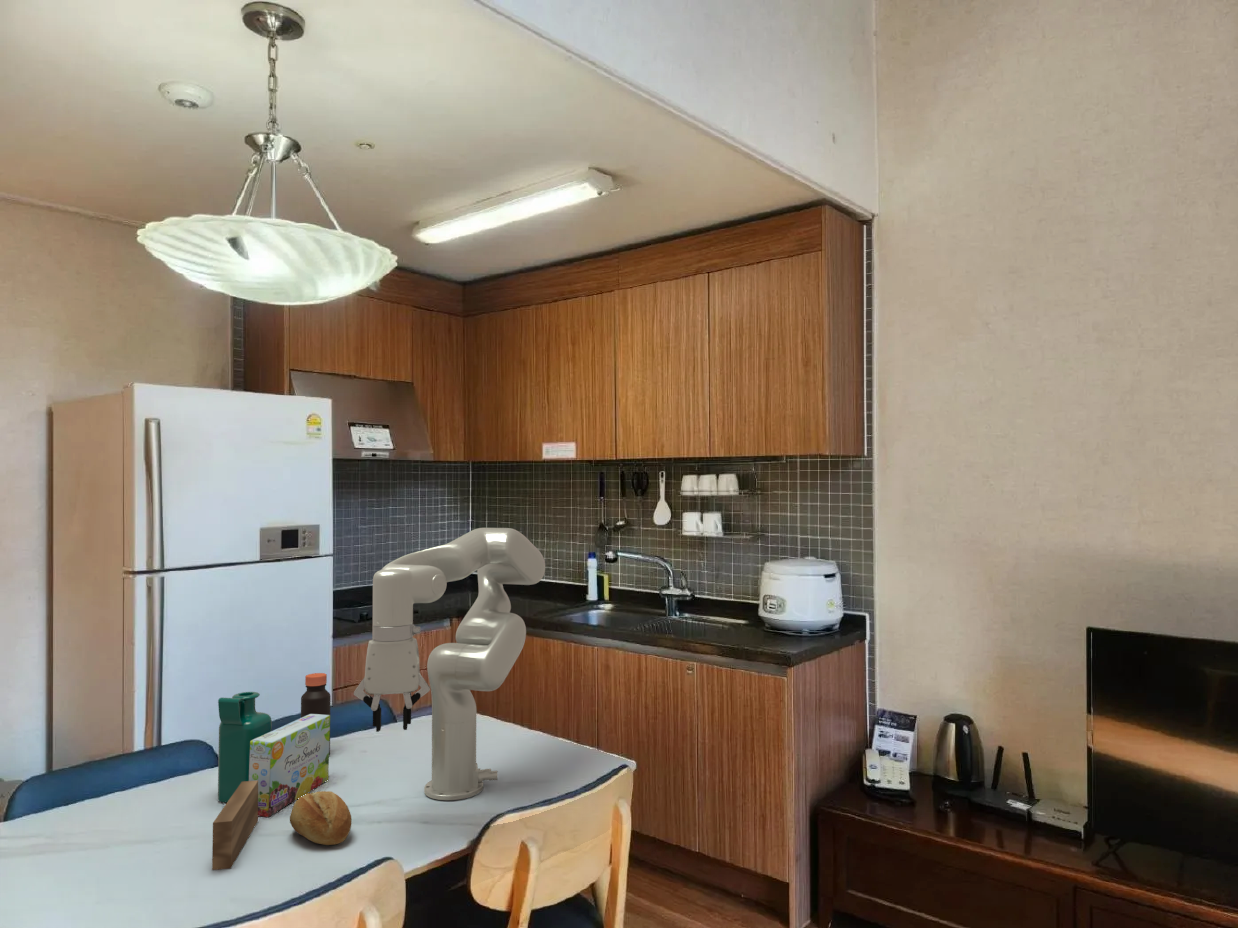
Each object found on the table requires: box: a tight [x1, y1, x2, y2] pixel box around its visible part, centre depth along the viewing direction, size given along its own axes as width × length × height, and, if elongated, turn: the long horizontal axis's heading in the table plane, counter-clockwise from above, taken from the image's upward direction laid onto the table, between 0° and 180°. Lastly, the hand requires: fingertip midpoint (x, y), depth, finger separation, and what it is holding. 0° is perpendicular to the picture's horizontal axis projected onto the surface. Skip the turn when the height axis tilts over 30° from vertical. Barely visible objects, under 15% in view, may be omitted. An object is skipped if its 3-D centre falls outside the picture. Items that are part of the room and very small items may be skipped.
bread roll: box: [289, 790, 352, 846], centre depth 149 cm, size 10×15×8 cm, turn 47°
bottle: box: [300, 672, 332, 756], centre depth 194 cm, size 7×7×20 cm
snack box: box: [249, 714, 331, 818], centre depth 168 cm, size 21×6×15 cm, turn 168°
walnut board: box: [211, 780, 259, 871], centre depth 145 cm, size 3×20×8 cm, turn 13°
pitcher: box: [217, 691, 273, 803], centre depth 168 cm, size 10×8×22 cm
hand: (392, 727), depth 152 cm, fingers open, 4 cm apart
